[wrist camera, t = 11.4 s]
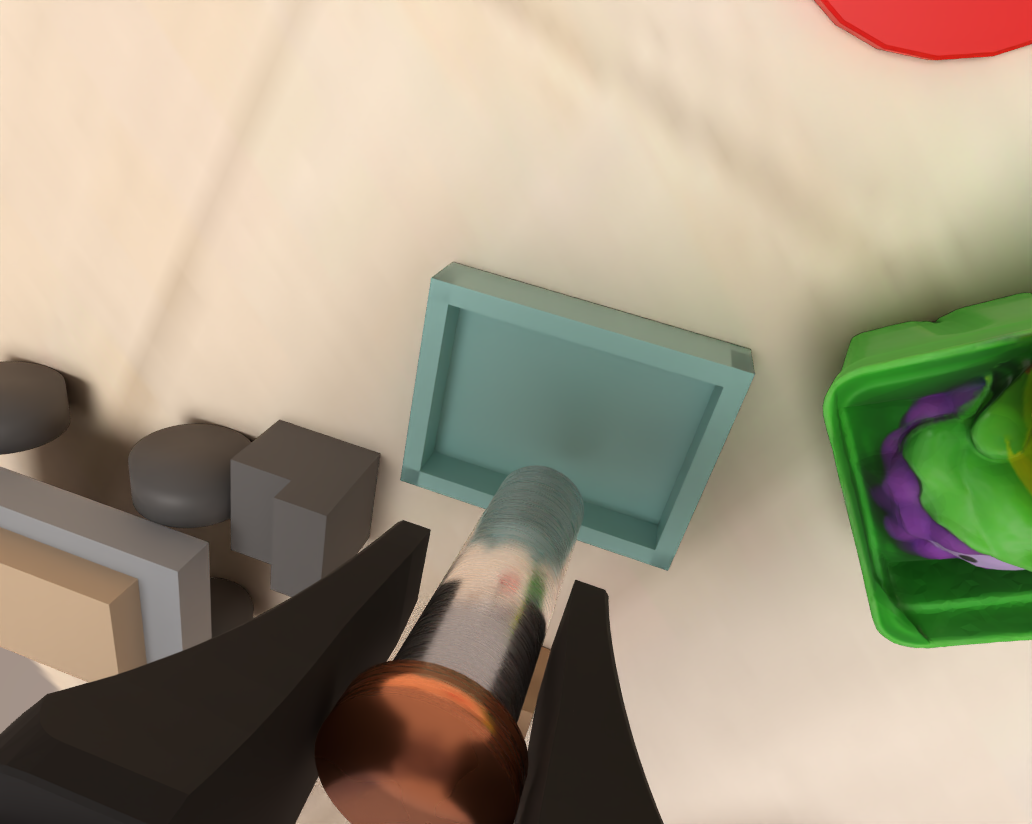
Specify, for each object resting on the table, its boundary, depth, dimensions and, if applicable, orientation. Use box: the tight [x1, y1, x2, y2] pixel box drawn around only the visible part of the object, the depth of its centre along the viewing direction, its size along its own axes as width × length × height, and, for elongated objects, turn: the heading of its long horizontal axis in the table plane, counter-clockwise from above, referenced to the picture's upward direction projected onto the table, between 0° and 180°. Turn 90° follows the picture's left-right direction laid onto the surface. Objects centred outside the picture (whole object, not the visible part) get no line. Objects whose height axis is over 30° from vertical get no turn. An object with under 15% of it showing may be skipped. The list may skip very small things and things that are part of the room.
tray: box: [400, 262, 755, 571], centre depth 20 cm, size 7×9×2 cm
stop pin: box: [314, 465, 584, 824], centre depth 14 cm, size 3×3×9 cm
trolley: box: [0, 361, 253, 682], centre depth 25 cm, size 12×10×7 cm
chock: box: [231, 420, 380, 597], centre depth 23 cm, size 4×4×4 cm
